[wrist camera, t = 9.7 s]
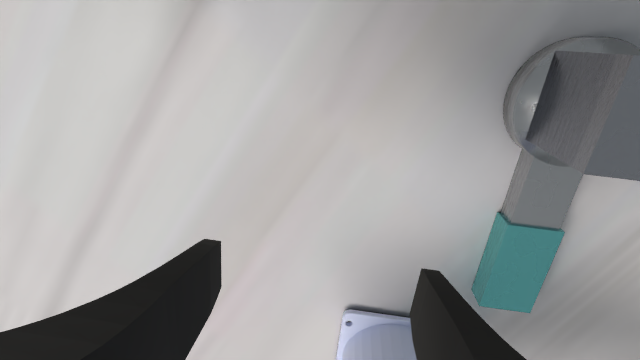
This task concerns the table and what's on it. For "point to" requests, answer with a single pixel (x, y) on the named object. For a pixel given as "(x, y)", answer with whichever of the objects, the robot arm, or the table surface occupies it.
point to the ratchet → (531, 191)
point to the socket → (591, 113)
